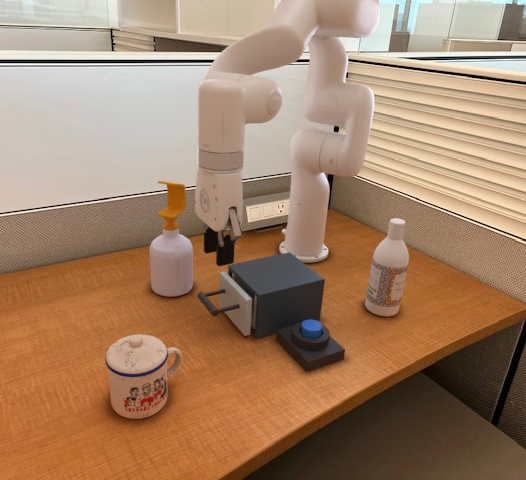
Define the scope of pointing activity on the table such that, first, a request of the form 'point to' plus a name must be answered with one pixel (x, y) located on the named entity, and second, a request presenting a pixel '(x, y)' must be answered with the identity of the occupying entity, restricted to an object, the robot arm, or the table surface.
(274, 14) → the robot arm
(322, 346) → the panel
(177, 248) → the soap bottle
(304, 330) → the button
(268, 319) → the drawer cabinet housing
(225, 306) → the drawer
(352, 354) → the table surface
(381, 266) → the bath foam
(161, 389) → the teacup with lid
